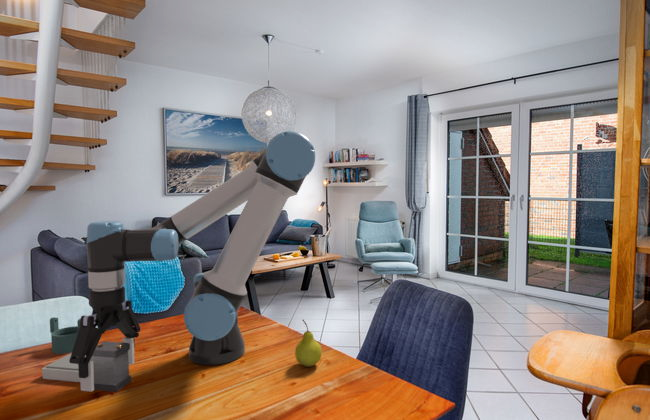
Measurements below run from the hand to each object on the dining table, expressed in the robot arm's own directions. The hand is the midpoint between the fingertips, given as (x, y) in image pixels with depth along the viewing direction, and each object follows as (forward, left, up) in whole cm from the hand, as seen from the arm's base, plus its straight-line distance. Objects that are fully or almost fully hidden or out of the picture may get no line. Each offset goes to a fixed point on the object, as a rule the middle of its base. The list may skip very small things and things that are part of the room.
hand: (109, 376), depth 94 cm
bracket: (+28, -18, -3) cm, 33 cm away
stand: (+12, -7, -2) cm, 14 cm away
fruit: (-44, -18, -2) cm, 48 cm away
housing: (0, 0, -2) cm, 2 cm away
